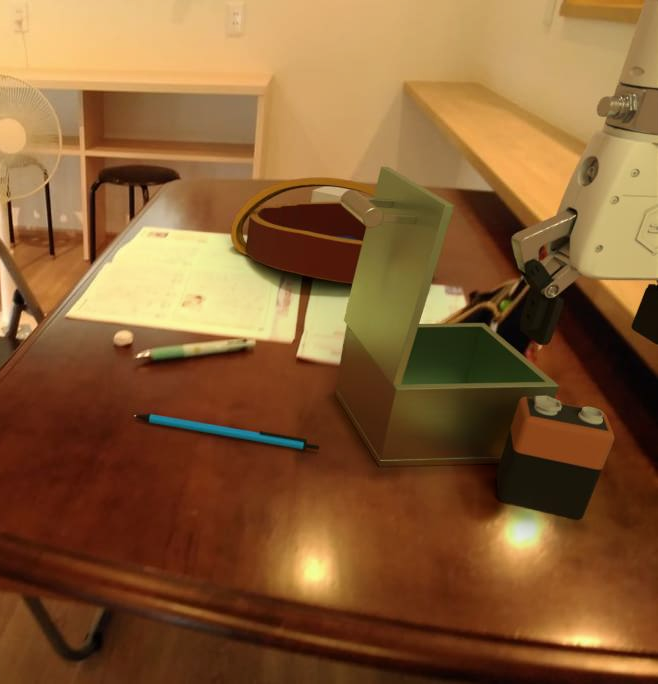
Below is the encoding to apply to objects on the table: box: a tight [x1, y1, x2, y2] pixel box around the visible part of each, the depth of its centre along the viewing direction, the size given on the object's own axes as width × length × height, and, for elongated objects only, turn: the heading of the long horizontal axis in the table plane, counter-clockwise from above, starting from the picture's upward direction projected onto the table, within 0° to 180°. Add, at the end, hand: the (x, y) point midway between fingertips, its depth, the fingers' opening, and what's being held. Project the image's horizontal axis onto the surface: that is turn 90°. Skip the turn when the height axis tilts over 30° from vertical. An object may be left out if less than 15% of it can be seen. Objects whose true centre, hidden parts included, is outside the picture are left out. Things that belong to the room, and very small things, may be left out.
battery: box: [495, 396, 615, 520], centre depth 60 cm, size 4×7×10 cm, turn 69°
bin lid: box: [341, 166, 455, 385], centre depth 64 cm, size 17×14×6 cm
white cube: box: [310, 186, 349, 202], centre depth 138 cm, size 6×6×6 cm
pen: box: [133, 413, 320, 451], centre depth 70 cm, size 1×19×1 cm, turn 74°
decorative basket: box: [230, 176, 376, 284], centre depth 112 cm, size 34×29×15 cm
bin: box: [334, 322, 560, 468], centre depth 71 cm, size 16×14×9 cm
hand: (590, 337), depth 55 cm, fingers open, 9 cm apart
